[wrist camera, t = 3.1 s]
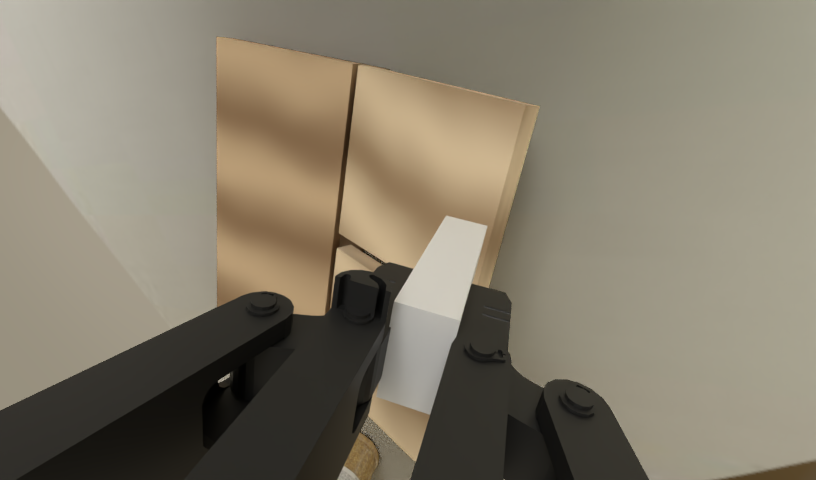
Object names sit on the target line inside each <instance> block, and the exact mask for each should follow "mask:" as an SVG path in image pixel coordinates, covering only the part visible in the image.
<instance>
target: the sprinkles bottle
mask: <svg viewBox="0 0 816 480" xmlns="http://www.w3.org/2000/svg"><path fill="white" fill-rule="evenodd" d="M378 462H379V456H378V451H377V449H376V447H375V445H374V444H373V442H372V441H371V440H370V439H368V438H367V437H366V436H365V435H363V434H362V433H359V435H358V437H357V439H356V441H355V443H354V445H353V448H352V450H351V452H350V454H349V456H348V458H347V460H346V462H345V464H344V466H343V469H342V471H341V473H340V475H339V477H338V479H337V480H370V479H371V476H372V474H373V472H374V470H375V469H376V467H377V465H378Z"/></svg>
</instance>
